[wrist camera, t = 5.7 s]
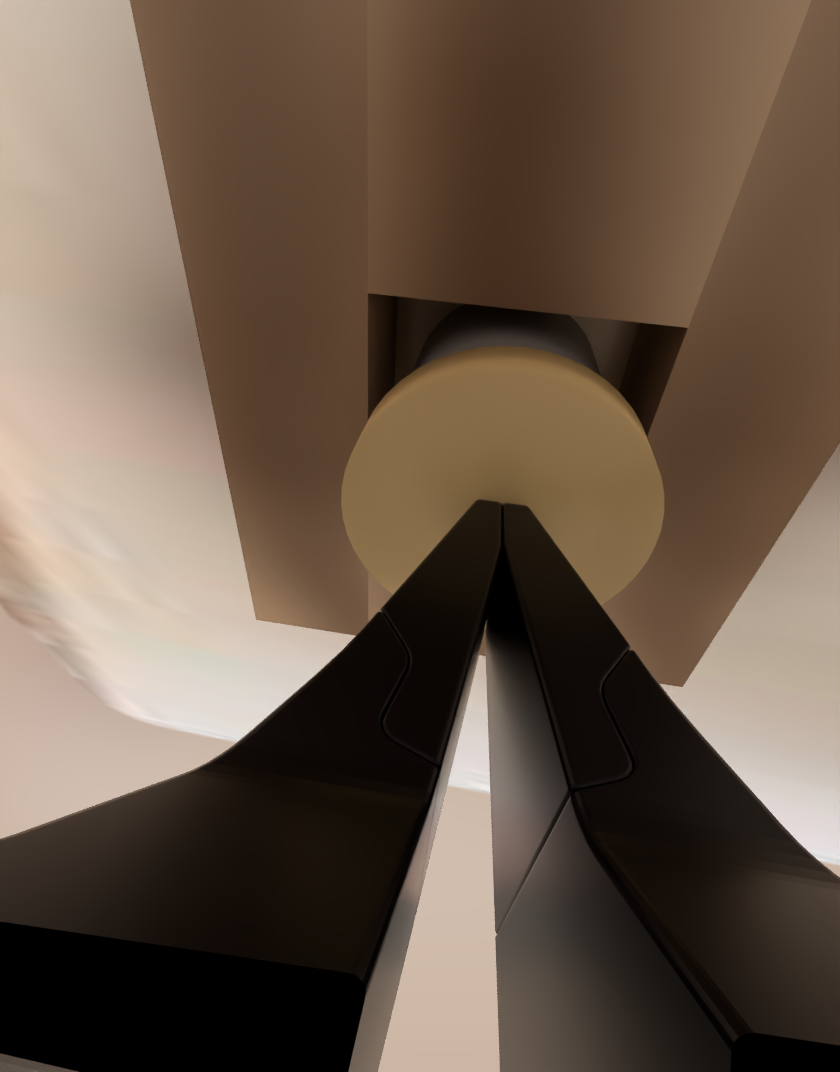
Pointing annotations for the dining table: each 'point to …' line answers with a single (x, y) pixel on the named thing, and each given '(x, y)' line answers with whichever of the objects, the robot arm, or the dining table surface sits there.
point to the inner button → (505, 450)
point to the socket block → (511, 253)
